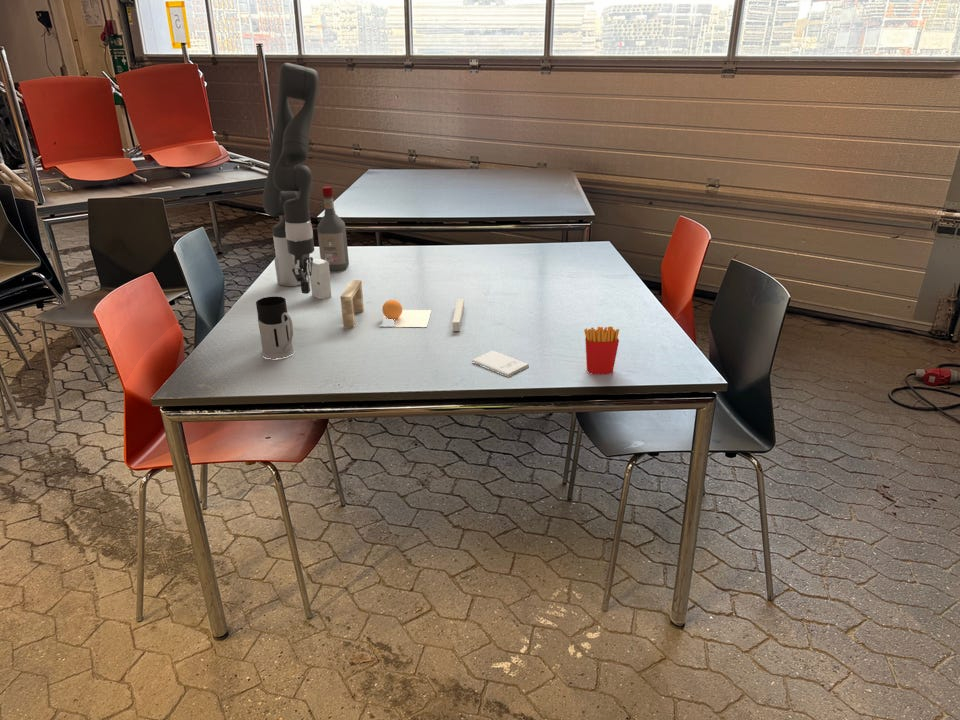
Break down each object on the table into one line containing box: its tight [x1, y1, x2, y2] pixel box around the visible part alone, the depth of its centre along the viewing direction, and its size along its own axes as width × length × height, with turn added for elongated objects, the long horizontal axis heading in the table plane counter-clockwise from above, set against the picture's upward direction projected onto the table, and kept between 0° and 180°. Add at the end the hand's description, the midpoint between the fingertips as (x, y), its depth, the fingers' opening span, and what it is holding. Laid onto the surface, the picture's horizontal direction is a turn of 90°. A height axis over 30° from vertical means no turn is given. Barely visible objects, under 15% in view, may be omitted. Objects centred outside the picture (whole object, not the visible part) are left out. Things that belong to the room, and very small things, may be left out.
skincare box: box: [310, 257, 332, 300], centre depth 219 cm, size 6×4×12 cm
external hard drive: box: [471, 350, 530, 377], centre depth 172 cm, size 2×8×12 cm
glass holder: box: [255, 295, 296, 359], centre depth 174 cm, size 9×14×15 cm, turn 43°
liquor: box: [316, 185, 350, 273], centre depth 243 cm, size 9×9×30 cm
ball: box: [382, 299, 403, 319], centre depth 201 cm, size 6×6×6 cm
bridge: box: [339, 279, 365, 328], centre depth 200 cm, size 3×15×10 cm, turn 178°
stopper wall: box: [452, 298, 465, 332], centre depth 200 cm, size 2×20×3 cm, turn 177°
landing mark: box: [383, 309, 433, 328], centre depth 202 cm, size 14×14×1 cm
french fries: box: [584, 326, 620, 375], centre depth 165 cm, size 8×4×12 cm, turn 90°
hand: (306, 292), depth 199 cm, fingers closed
